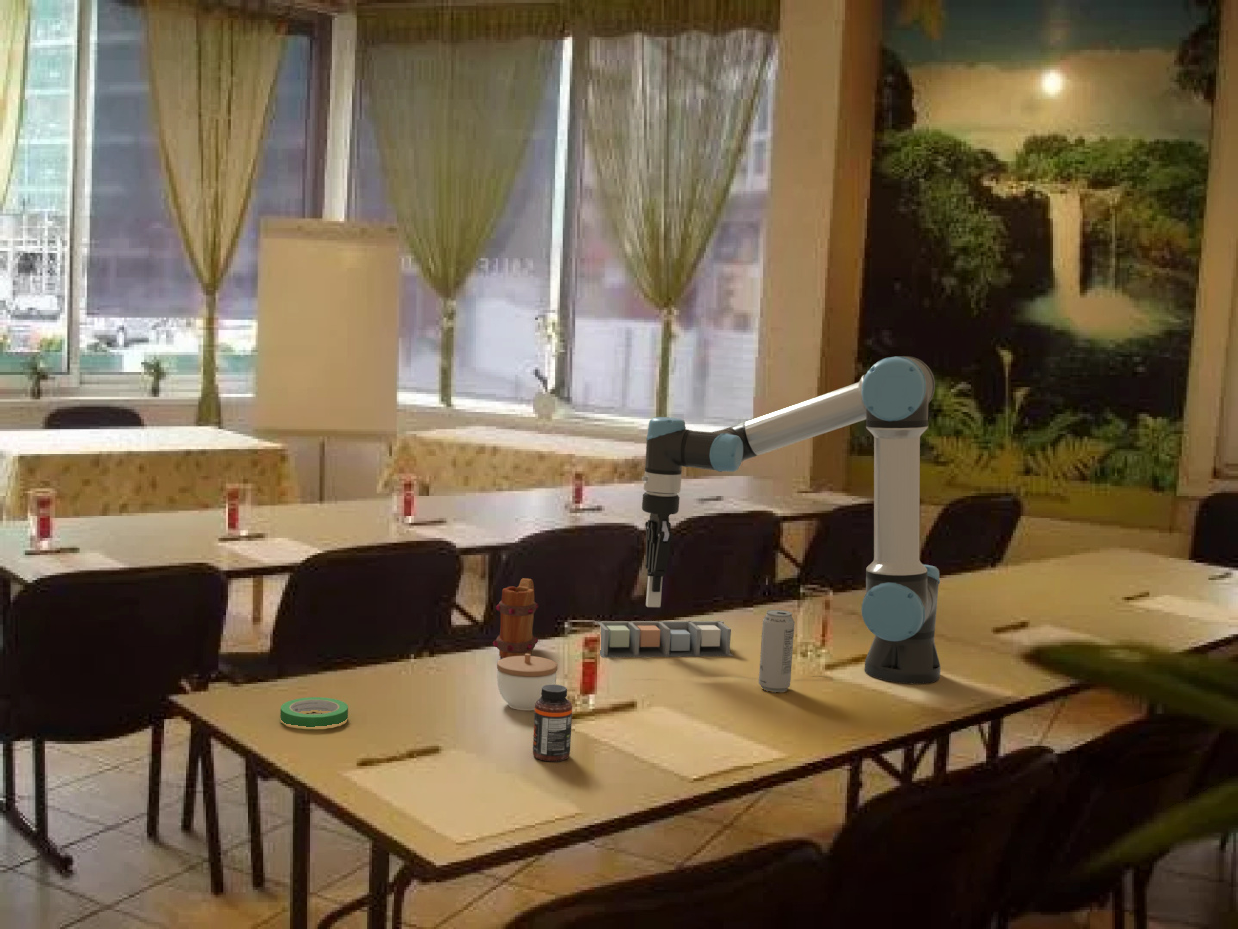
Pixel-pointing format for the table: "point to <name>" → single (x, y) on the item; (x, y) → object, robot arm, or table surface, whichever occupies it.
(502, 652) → the mug
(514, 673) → the lidded jar
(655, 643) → the terracotta key
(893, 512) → the robot arm
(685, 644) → the slate key
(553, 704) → the supplement bottle
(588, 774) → the table surface
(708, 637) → the ivory key
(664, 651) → the grey compartment rack
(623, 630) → the sage key
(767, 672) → the energy drink can
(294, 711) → the tape roll
